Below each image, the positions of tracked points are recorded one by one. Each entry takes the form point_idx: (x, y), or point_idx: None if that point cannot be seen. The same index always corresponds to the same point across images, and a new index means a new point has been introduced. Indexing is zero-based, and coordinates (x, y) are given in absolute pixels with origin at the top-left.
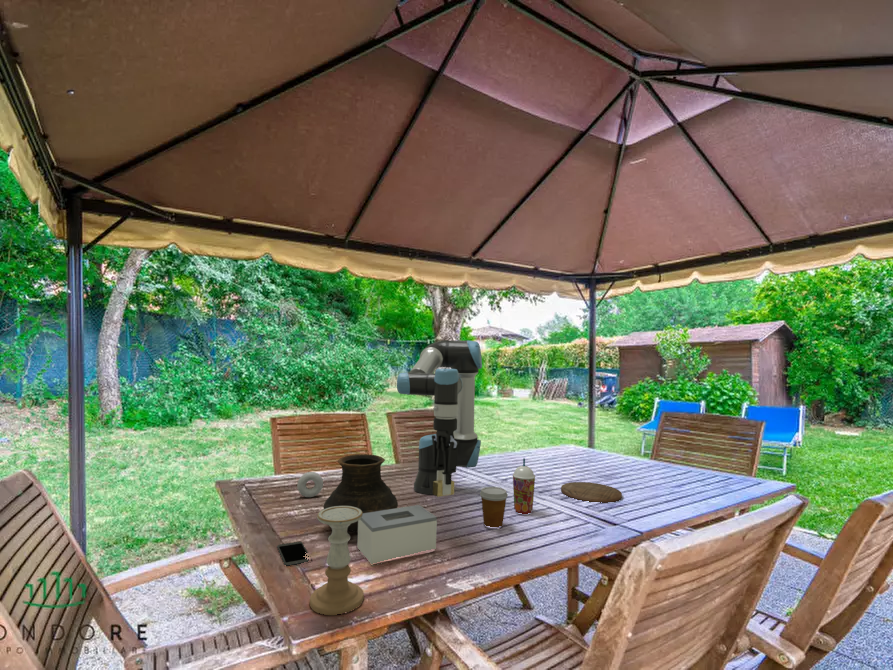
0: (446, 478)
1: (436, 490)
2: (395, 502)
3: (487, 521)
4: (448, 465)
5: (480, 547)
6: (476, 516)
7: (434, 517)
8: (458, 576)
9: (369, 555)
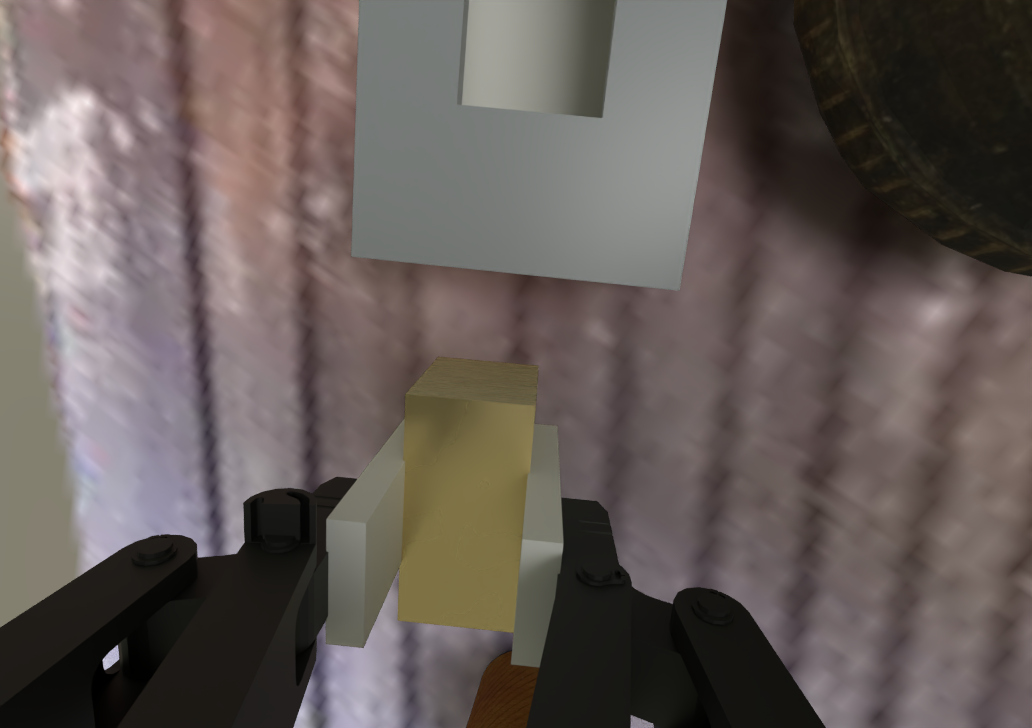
0: (324, 514)
1: (451, 372)
2: (938, 191)
3: (513, 674)
4: (62, 625)
5: (347, 474)
6: None
7: (353, 235)
8: (132, 190)
9: None
